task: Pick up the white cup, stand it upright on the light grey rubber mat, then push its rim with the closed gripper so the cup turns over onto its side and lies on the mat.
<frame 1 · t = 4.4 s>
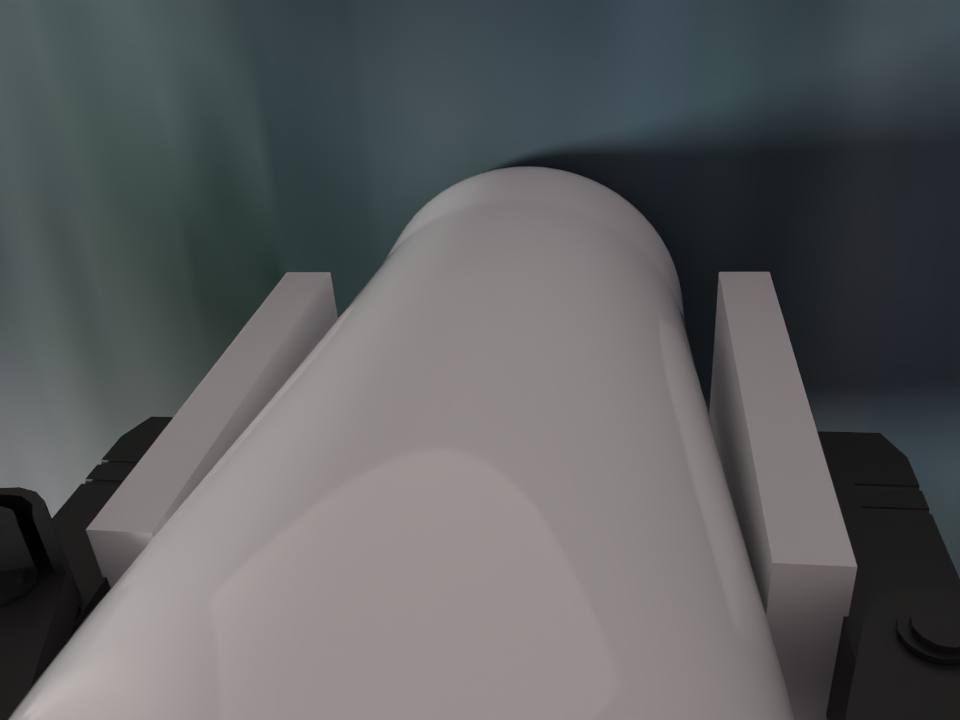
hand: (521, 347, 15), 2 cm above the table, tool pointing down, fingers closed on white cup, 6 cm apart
white cup: (534, 290, 17), on the table, touching gripper
when the fingers open (3 cm above the table, at t = 9.9 s): white cup moves 2 cm, resting on rubber mat.
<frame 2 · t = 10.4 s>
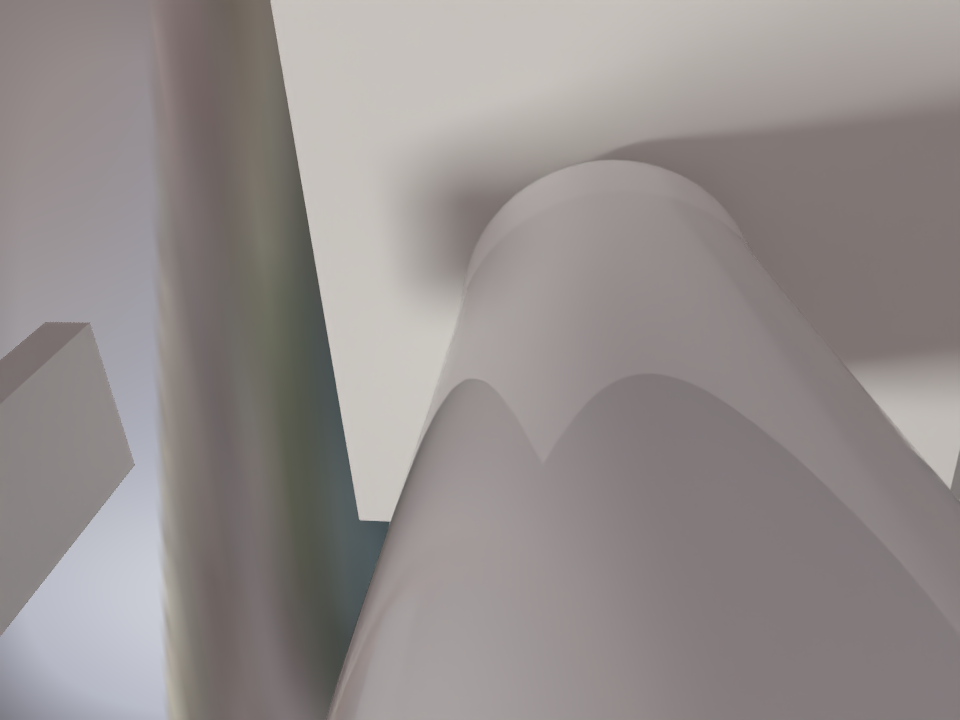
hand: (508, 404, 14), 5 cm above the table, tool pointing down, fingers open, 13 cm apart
white cup: (603, 281, 18), resting on rubber mat
rubber mat: (943, 260, 17), on the table
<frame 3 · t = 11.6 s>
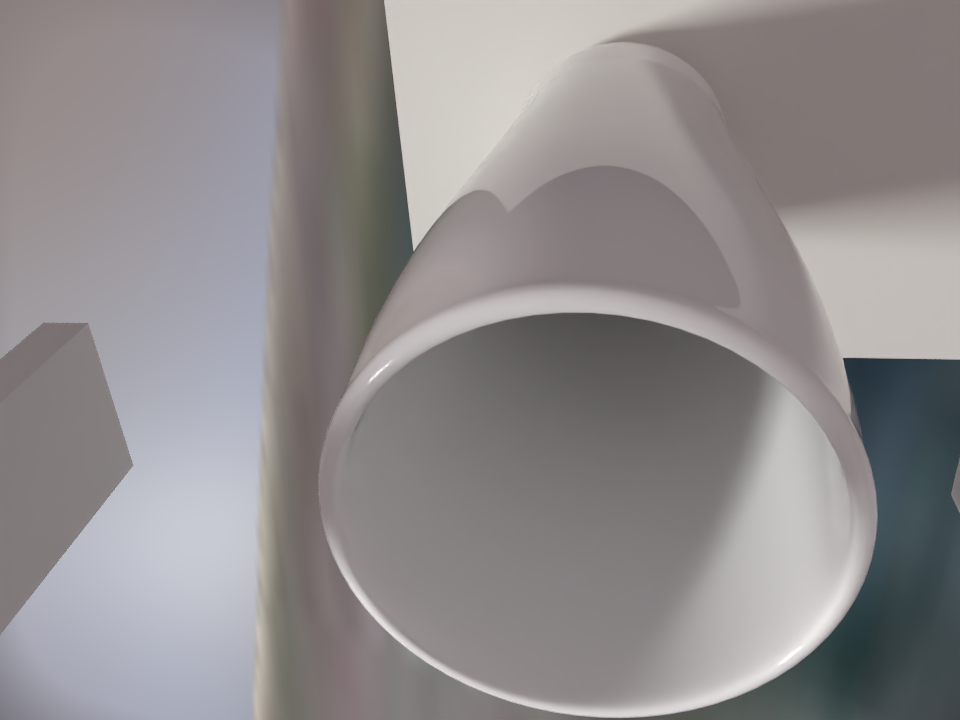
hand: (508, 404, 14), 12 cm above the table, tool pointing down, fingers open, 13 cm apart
white cup: (619, 141, 24), resting on rubber mat
rubber mat: (873, 124, 23), on the table
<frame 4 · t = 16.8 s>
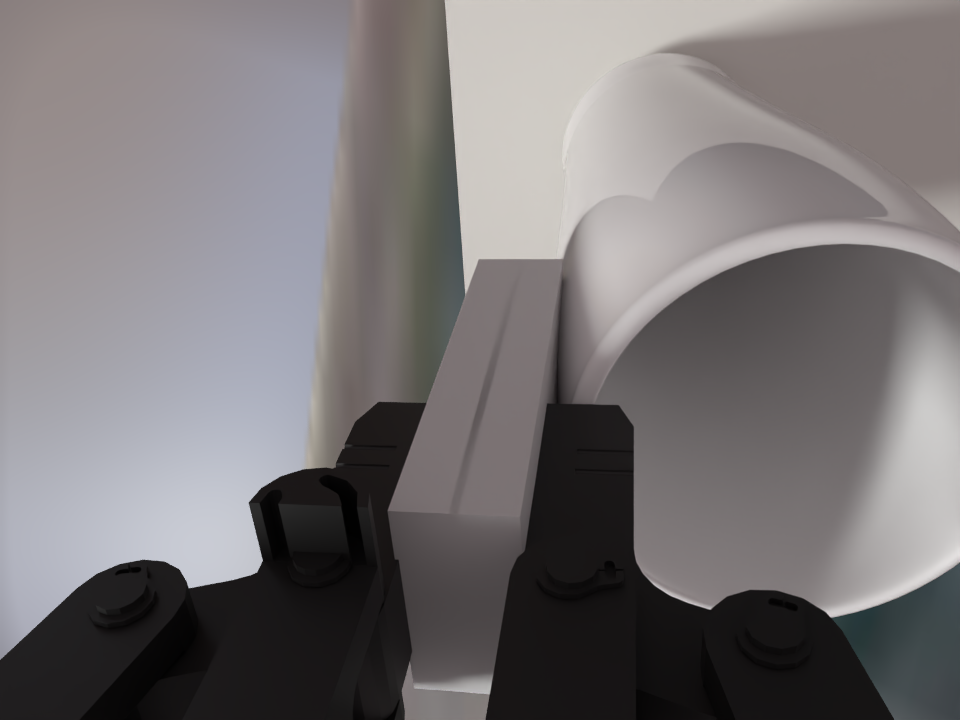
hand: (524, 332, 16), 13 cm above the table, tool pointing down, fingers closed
white cup: (654, 144, 26), point 1 cm above the table, touching gripper, rubber mat
rubber mat: (884, 129, 25), on the table
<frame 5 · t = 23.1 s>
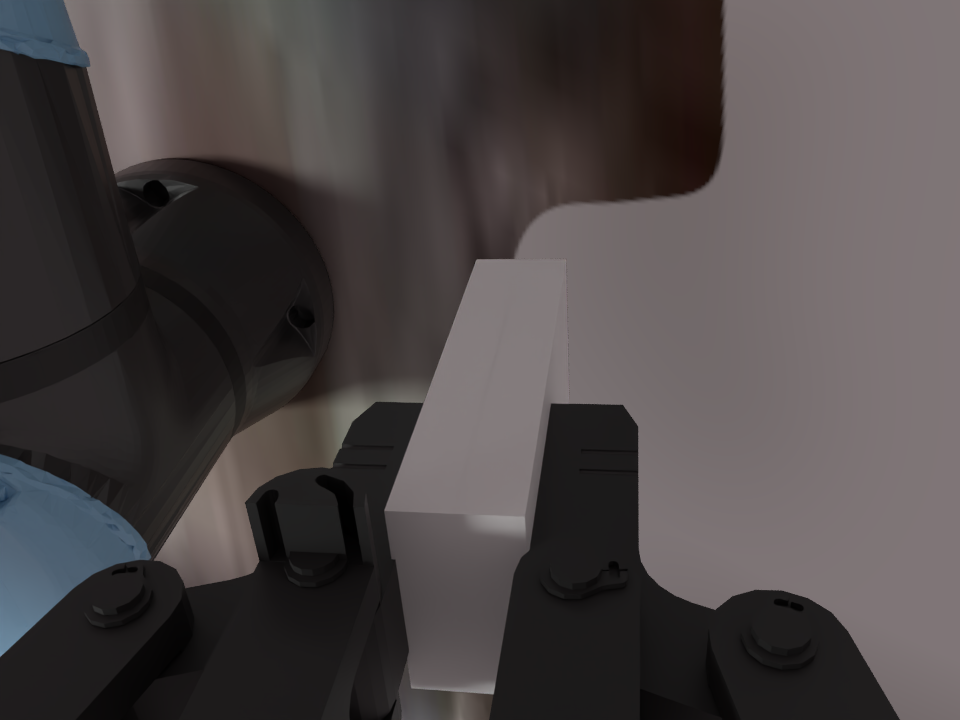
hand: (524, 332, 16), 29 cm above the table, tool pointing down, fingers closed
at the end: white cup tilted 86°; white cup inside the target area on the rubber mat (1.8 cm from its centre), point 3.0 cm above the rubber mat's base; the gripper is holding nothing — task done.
